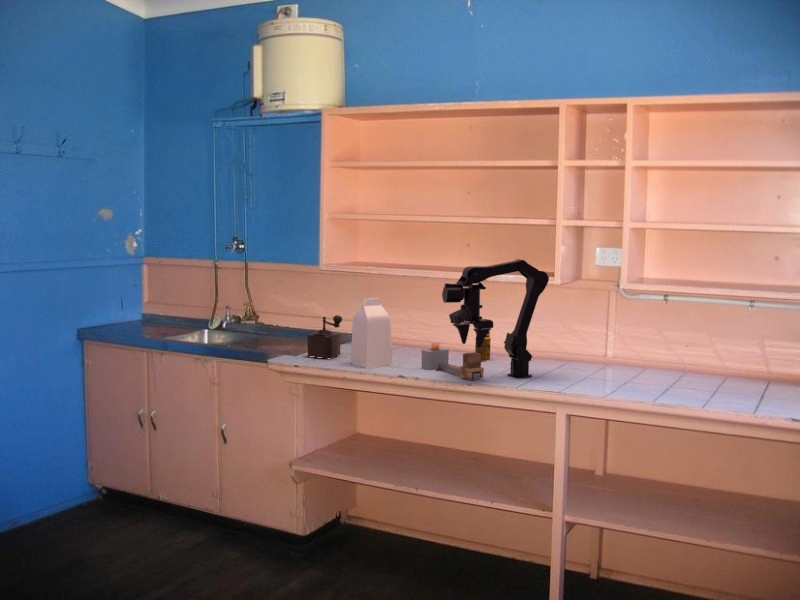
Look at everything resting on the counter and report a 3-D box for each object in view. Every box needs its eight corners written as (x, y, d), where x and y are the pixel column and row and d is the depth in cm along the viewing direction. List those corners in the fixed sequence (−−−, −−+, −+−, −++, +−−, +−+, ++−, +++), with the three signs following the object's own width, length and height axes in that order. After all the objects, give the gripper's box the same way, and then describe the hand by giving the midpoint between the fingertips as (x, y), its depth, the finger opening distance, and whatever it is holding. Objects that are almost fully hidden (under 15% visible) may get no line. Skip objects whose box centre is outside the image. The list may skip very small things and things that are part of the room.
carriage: (483, 377, 286) (483, 354, 285) (469, 379, 283) (470, 355, 282) (473, 374, 291) (473, 351, 290) (459, 376, 288) (460, 353, 287)
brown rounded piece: (440, 351, 306) (440, 343, 306) (434, 351, 305) (434, 344, 304) (436, 350, 309) (436, 342, 308) (429, 350, 307) (429, 343, 307)
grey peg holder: (448, 367, 307) (448, 349, 307) (428, 369, 303) (428, 351, 302) (441, 365, 312) (441, 347, 311) (421, 367, 307) (421, 349, 306)
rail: (483, 379, 286) (483, 372, 286) (469, 381, 283) (469, 374, 283) (448, 369, 305) (448, 362, 305) (435, 370, 302) (435, 363, 302)
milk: (366, 368, 305) (367, 300, 302) (350, 364, 314) (350, 298, 311) (392, 365, 312) (393, 298, 309) (375, 361, 321) (376, 296, 318)
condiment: (494, 360, 325) (495, 330, 323) (478, 362, 320) (478, 332, 319) (483, 357, 331) (483, 328, 330) (466, 359, 326) (467, 330, 325)
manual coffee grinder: (305, 357, 327) (305, 314, 325) (319, 353, 337) (319, 311, 335) (339, 360, 321) (339, 316, 319) (352, 356, 331) (352, 313, 329)
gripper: (438, 300, 289) (438, 343, 290) (468, 306, 273) (467, 351, 274) (463, 299, 294) (463, 341, 296) (494, 304, 278) (494, 348, 280)
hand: (471, 345), depth 286 cm, fingers open, 9 cm apart
